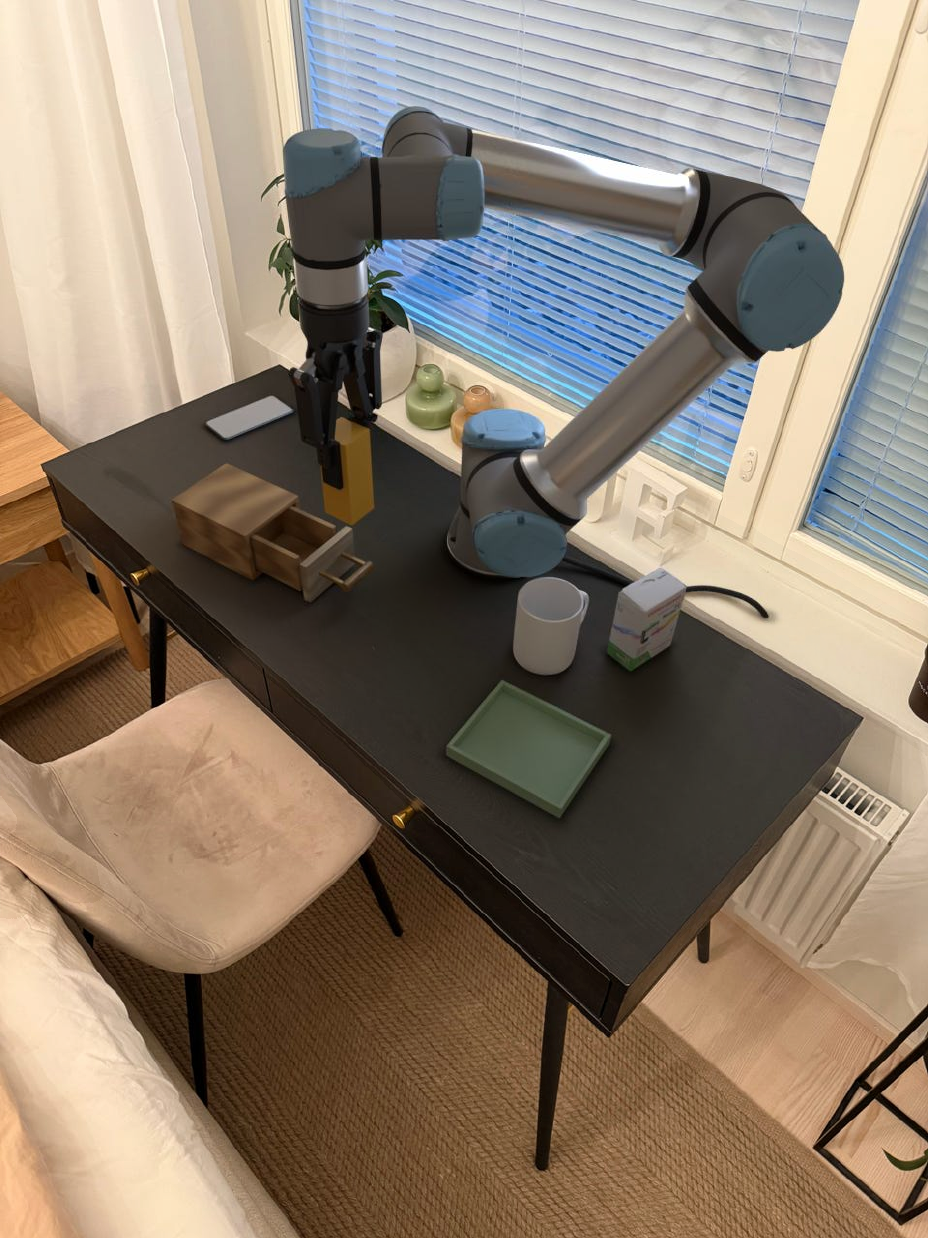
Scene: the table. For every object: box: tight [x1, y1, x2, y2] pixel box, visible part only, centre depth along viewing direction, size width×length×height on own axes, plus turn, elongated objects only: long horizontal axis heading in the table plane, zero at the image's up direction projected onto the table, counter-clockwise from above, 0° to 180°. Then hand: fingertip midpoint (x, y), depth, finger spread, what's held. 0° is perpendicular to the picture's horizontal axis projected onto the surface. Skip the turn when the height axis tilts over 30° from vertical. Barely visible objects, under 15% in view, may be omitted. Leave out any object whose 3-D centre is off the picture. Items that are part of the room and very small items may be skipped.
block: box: [319, 416, 375, 526], centre depth 111 cm, size 4×4×12 cm
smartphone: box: [204, 395, 295, 441], centre depth 164 cm, size 7×1×15 cm
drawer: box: [249, 505, 375, 603], centre depth 131 cm, size 19×10×7 cm, turn 57°
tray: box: [445, 679, 612, 819], centre depth 112 cm, size 16×13×2 cm
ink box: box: [606, 567, 688, 672], centre depth 121 cm, size 8×5×12 cm, turn 129°
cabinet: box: [171, 462, 301, 581], centre depth 136 cm, size 15×12×9 cm
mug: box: [512, 576, 590, 676], centre depth 121 cm, size 9×12×11 cm
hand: (347, 474), depth 111 cm, fingers closed on block, 4 cm apart
